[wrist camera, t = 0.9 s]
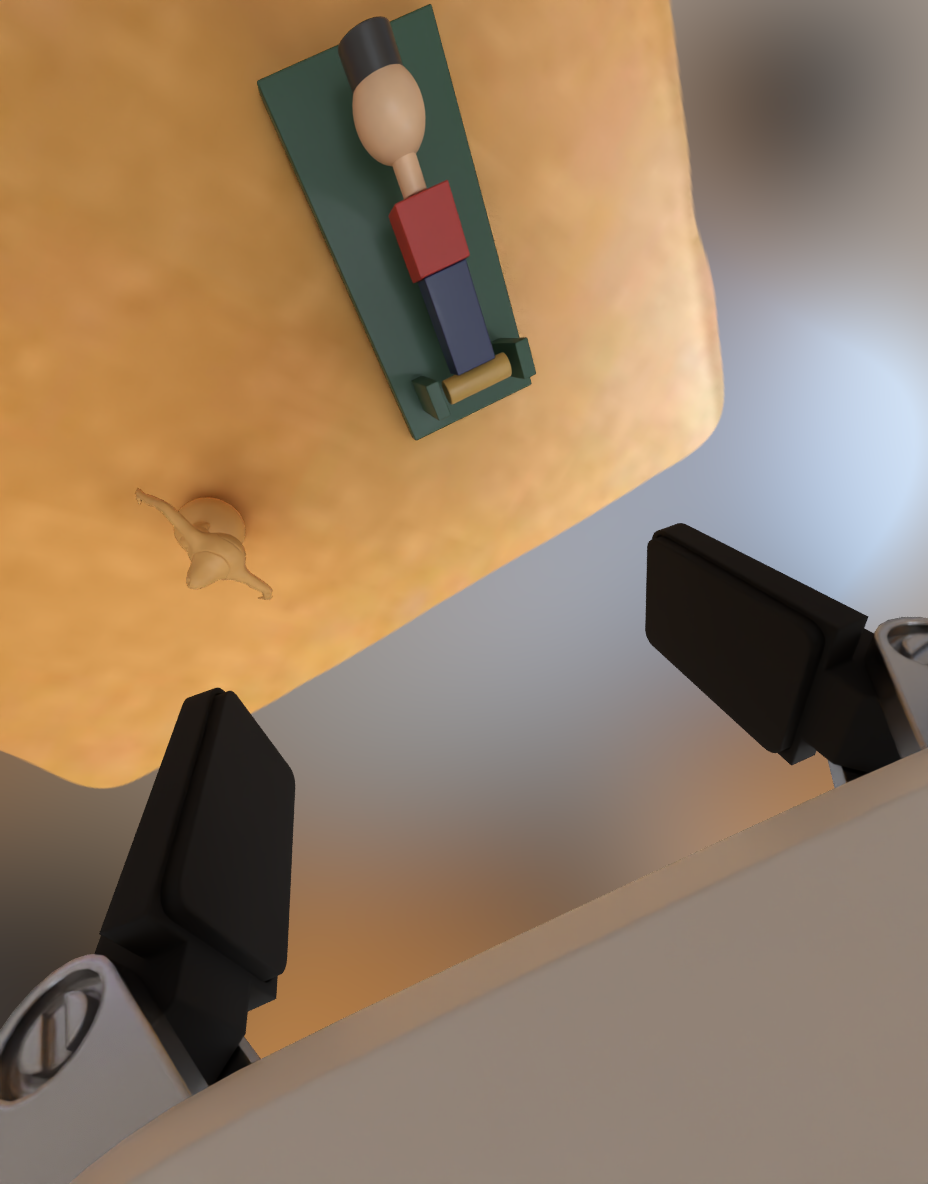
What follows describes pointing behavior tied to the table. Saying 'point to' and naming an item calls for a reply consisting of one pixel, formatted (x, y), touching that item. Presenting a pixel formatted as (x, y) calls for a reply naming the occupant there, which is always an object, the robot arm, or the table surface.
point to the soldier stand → (364, 232)
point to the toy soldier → (420, 206)
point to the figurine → (210, 541)
